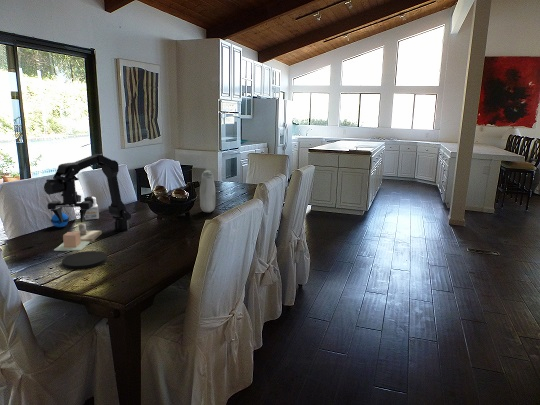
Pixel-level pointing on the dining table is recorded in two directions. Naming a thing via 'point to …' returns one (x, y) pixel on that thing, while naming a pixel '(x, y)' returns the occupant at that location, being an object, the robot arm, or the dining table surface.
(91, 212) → the container
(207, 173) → the white tall cylinder
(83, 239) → the post base
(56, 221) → the ornament
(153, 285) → the dining table surface
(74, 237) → the salmon pink cube
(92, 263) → the wireless charger
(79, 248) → the mat
